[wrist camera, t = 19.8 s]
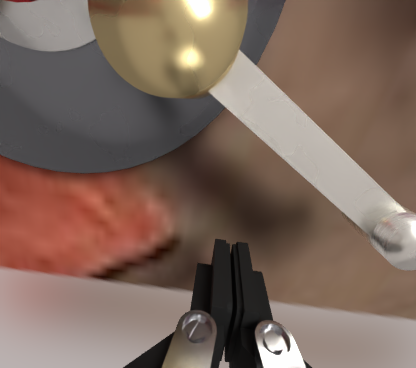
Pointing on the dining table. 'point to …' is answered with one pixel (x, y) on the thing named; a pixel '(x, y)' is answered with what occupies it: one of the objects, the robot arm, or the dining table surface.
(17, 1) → the soda can
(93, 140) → the plate
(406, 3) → the dining table surface
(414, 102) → the dining table surface
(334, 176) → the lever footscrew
